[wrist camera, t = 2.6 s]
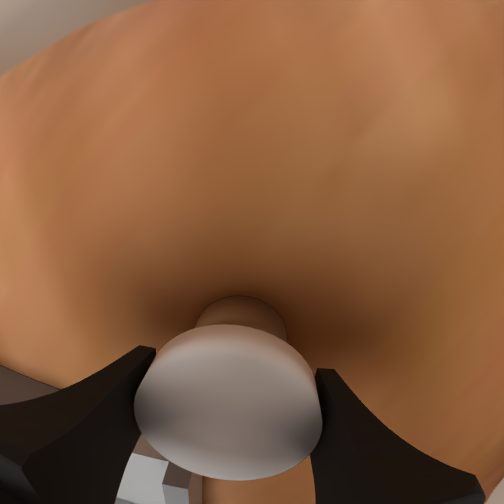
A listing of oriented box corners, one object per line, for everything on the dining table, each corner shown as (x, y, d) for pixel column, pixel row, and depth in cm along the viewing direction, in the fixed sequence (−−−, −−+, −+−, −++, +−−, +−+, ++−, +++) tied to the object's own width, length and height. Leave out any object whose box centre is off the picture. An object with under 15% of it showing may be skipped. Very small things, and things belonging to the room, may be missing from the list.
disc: (333, 334, 9) (344, 365, 8) (298, 454, 11) (300, 485, 9) (145, 311, 9) (125, 337, 8) (155, 435, 11) (144, 464, 9)
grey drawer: (202, 428, 15) (187, 489, 11) (202, 518, 18) (194, 560, 14) (3, 368, 16) (-33, 402, 11) (48, 472, 19) (30, 503, 15)
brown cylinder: (293, 301, 13) (302, 354, 9) (279, 378, 14) (281, 440, 10) (196, 290, 13) (170, 338, 9) (194, 367, 14) (174, 426, 11)
